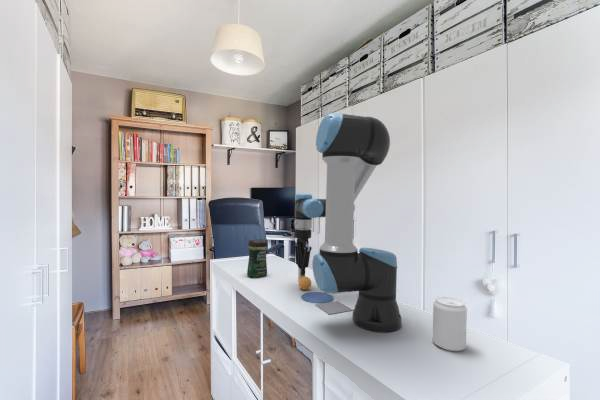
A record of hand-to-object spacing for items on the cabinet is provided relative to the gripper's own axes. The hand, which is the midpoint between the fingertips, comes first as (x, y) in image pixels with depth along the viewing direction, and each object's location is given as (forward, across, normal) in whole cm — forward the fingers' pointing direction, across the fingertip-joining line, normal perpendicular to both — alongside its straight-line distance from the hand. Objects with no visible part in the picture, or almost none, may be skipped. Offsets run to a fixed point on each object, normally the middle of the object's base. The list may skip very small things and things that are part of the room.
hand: (301, 282), depth 131 cm
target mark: (+2, +15, 0) cm, 15 cm away
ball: (0, +3, 0) cm, 3 cm away
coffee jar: (+3, -25, -12) cm, 28 cm away
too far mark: (+2, +27, 0) cm, 27 cm away
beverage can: (+2, +63, +14) cm, 64 cm away
